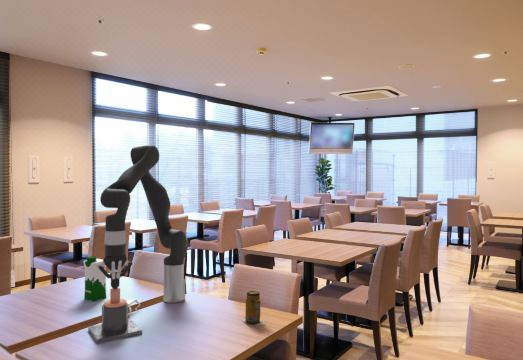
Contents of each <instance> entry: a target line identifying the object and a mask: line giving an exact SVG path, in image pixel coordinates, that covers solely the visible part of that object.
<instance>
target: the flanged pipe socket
mask: <svg viewBox="0 0 523 360" xmlns="http://www.w3.org/2000/svg"><path fill="white" fill-rule="evenodd" d="M87 329H88V332H89V334H90V335H91V337H92V338H93V340H94V341H95V343H96V344H101V343H106V342H112V341H116V340H120V339H125V338H130V337H134V336H139V335H143V329H141V327H139V325H137V323H136V322H134V321H133V320H132V319H131V318H129V306H128V303H127V302H126V305H125V306H123V307H119V308H106V307H104V303H103V304H102V305H101V324H96V325H91V326H88V327H87Z"/></svg>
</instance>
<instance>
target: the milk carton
mask: <svg viewBox="0 0 523 360" xmlns="http://www.w3.org/2000/svg"><path fill="white" fill-rule="evenodd" d="M102 262H103V259H100V258H97V256H95V255H91V256H87V257H86V260H83V262H82V263H83V268H84V298H83V299H84V300H87V301H90V302H97V301H100V300H103V299H106V298H107V287H106V283H107V277H106V276H105V275H104V274H103V273H102V272H101V271H100V269H99V268H98V267H97V266H98V265H100V264H101V263H102ZM105 270H106V271H107V266H106V265H105Z"/></svg>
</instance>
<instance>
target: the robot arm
mask: <svg viewBox="0 0 523 360" xmlns="http://www.w3.org/2000/svg"><path fill="white" fill-rule="evenodd" d="M129 153H130V154H129V155H130V159H131V163H132V166H130V167H128V168H127V169H126V170H125V171H123V173H121V175H120V176H119V177H118V179H117V180H116V181H114V182H112V184H110V185H109V186H106V187H105V188H104V189H103V191H102V192H101V194H100V197H99V198H100V199H99V200H100V204H101V205H102V206H103V207H104V208H107V209H117V210H116V212H115V213H110V214H108V215H106V217H105V222H104V223H105V225H104V226H105V228H104V229H105V230H104V257H103V259H102V260H103V262H102V263H101V264H100V265H98V266H97V267H98V268H99V269H100V271H101V272H102V273H103V274H104V275H105V276H106V279H110V287H111V288H113V289H118V288H120V281H121V280H120V279H121V278H122V277H125V275H126V274H127V273H128V271H129V270H130V269H131V267H132V266H133V262H132V261H131V260H130V261H129V260H128V257H127V255H126V254H127V253H126V252H127V250H126V249H127V248H126V247H127V246H126V245H127V243H126V242H127V235H126V218H127V214H128V210H129V206H130V203H131V193H133V191H134V189H135V187H136V186H137V184H138V183H139V182H140V183H141V185H142V188H143V190H144V193H145V196H146V200H147V203H148V205H149V208H150V210H151V213H152V216H153V219H154V222H155V225H156V229H157V233H158V237H159V242H160V244H161V246H162V247H163V248H165V249H168V250H170V253H169V255H167V256H165V257H164V258H163V297H162V298H163V302H165V303H169V304H171V303H175V304H176V303H180V302H182V301H185V300H186V279H185V278H184V275H185V274H184V271H185V269H184V264H185V263H184V262H185V258H186V251H187V236H186V234H185V232H184V231H183V230H180V229H173V228H172V225H171V222H170V218H169V216H170V210H171V200H170V197H169V194H168V191H167V189H166V187H164V185H163V184H162V183H161V182H160V181H158V179H156V178H154V176H153V175H152V174H151V172H150V171H151V169H153V168H154V167H155V166H156V165H157V164H158V163H159V160H160V151H159V149H158V147H157V146H155V145H153V144H144V145H139V146H134V147H132V148H131V150H130V152H129ZM105 265H106V268H107V269H108V270H109V272H108V271H107V269H106V270H105Z"/></svg>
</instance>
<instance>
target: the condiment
mask: <svg viewBox="0 0 523 360" xmlns="http://www.w3.org/2000/svg"><path fill="white" fill-rule="evenodd" d="M260 296H261V295H260V291H257V290H249V291H247V292H246V298H245V316H244V317H245V318H241V319H240V320H241V321H242V322H244V324H246V325H247V326H249V327H256V326H261V325H266V324H267V323H265V322H264V321H263V320H261V304H262V303H261V298H260Z"/></svg>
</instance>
